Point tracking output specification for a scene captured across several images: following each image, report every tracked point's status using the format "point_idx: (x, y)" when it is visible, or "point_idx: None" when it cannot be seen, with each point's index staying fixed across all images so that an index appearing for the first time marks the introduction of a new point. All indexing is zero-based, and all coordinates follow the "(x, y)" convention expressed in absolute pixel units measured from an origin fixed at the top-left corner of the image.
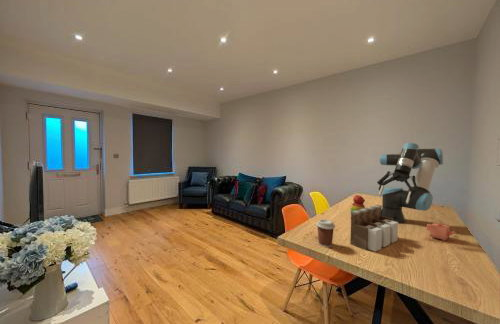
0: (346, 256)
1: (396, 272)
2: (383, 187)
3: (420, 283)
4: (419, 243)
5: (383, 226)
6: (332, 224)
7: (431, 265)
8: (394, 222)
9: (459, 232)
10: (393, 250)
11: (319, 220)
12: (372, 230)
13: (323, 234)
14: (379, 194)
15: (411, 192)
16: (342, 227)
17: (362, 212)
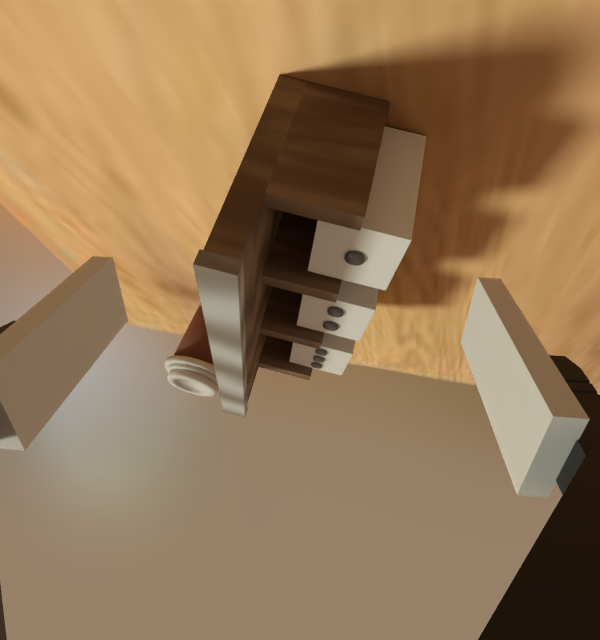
0: None
1: (429, 358)
2: (18, 383)
3: None
4: (586, 79)
5: (350, 333)
6: (216, 385)
7: (545, 304)
8: (388, 258)
9: None
10: (413, 261)
11: (174, 385)
12: (328, 370)
13: None
14: (117, 325)
15: (564, 477)
16: (95, 124)
17: (246, 390)
